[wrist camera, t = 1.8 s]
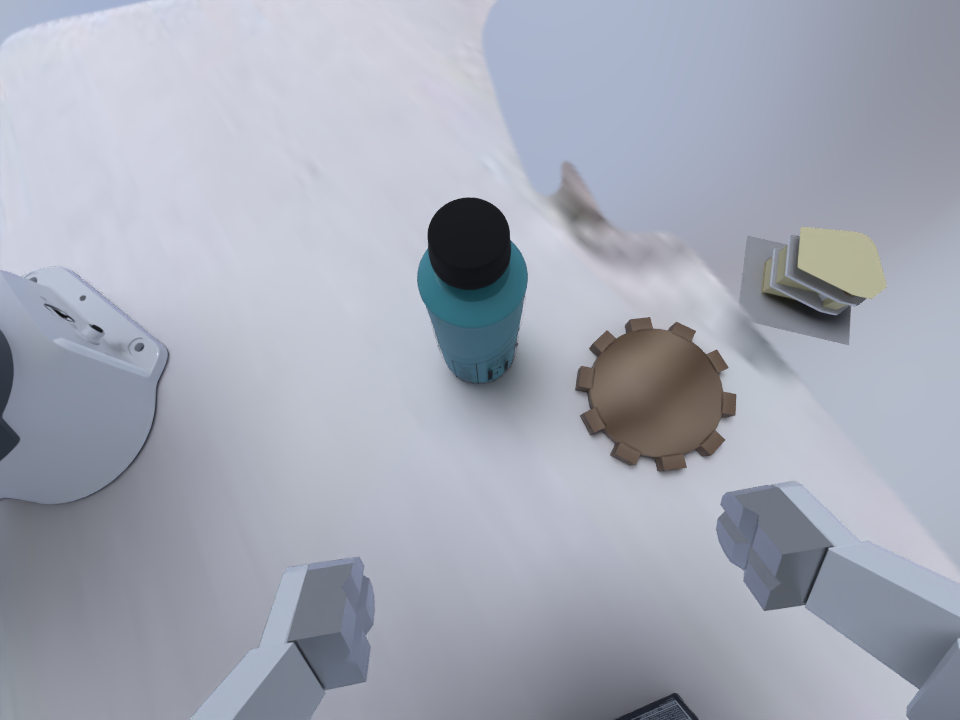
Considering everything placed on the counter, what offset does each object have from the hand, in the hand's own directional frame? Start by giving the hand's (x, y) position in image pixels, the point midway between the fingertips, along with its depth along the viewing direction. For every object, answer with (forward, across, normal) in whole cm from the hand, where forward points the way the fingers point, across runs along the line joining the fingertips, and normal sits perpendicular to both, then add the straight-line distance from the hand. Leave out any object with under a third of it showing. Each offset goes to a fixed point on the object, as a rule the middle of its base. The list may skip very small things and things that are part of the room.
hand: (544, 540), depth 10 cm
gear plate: (+24, -14, +14) cm, 31 cm away
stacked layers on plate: (+30, -30, +10) cm, 43 cm away
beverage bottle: (+28, 0, +10) cm, 30 cm away
